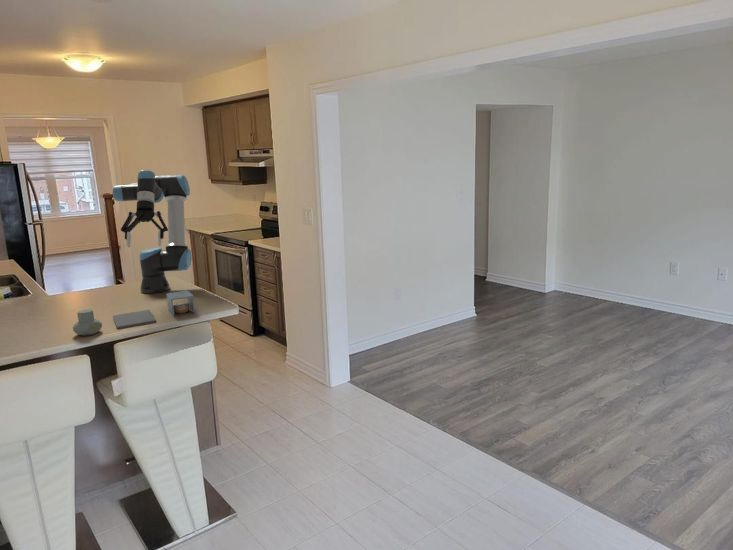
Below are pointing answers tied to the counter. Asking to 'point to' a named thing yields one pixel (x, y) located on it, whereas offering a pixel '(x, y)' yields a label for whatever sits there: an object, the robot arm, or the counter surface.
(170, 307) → the grey arch block
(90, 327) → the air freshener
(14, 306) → the counter surface
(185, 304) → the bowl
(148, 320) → the mat
